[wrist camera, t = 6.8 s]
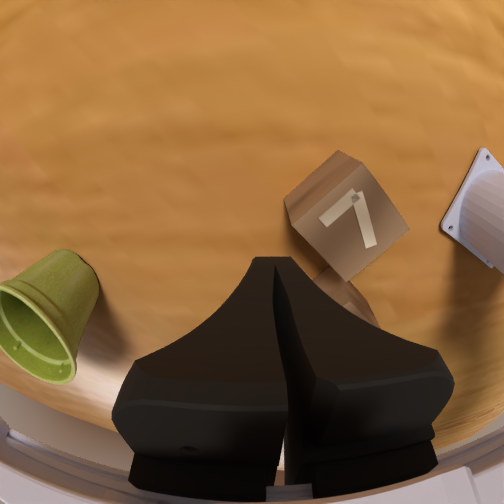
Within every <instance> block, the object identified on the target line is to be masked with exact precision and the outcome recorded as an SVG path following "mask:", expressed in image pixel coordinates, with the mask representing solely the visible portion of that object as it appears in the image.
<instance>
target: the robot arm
mask: <svg viewBox="0 0 504 504" xmlns="http://www.w3.org/2000/svg"><path fill="white" fill-rule="evenodd" d="M486 156H487V159H486ZM449 226H451V227H450V229H448V228H449ZM441 228H442V230H444V231H445V232H446V233H448V234H449V235H450V236H452V237H453V238H454V239H456V240H457V241H458V242H459V243H461V244H462V245H463V246H464V247H466V248H467V249H468V250H469V251H471V252H472V253H473V254H474V255H476V256H477V257H478V258H479V259H480V260H482V261H483V262H484V263H485V264H486V265H487V266H489V267H490V268H493V267H494V266H495V267H496V268H497V269H498V270H499V271H500V272H501V273H502V274H503V275H504V169H503V168H502V166H501V165H500V164H499V163H498V162H497V161H496V159H495V158H494V157H493V156H492V155H491V154H490V152H489V151H488V150H487V149H485V148H480V150H479V151H478V154H477V156H476V158H475V160H474V162H473V164H472V166H471V168H470V170H469V172H468V174H467V176H466V178H465V180H464V182H463V184H462V186H461V188H460V190H459V192H458V194H457V195H456V197H455V199H454V201H453V203H452V204H451V206H450V208H449V210H448V211H447V213H446V215H445V217H444V218H443V220H442V222H441ZM454 385H455V383H454V380H453V377H452V375H451V373H450V371H449V369H448V368H447V366H446V364H445V362H444V361H443V359H442V357H441V355H440V354H439V352H438V351H437V350H435V349H432V348H429V347H426V346H423V345H420V344H416V343H413V342H410V341H407V340H405V339H402V338H400V337H397V336H395V335H393V334H390V333H388V332H386V331H384V330H382V329H380V328H378V327H376V326H374V325H372V324H370V323H368V322H367V321H365V320H363V319H361V318H359V317H358V316H356V315H355V314H353V313H351V312H350V311H348V310H347V309H346V308H344V307H343V306H341V305H340V304H339V303H337V302H336V301H335V300H333V299H332V298H331V297H330V296H328V295H327V294H326V293H325V292H324V291H323V290H322V289H320V288H319V287H318V286H317V285H316V284H315V283H314V282H313V281H312V280H311V279H310V278H309V277H308V276H307V275H306V274H305V272H304V271H303V270H302V269H301V268H300V267H299V266H298V265H297V263H296V262H295V261H294V260H293V259H292V258H291V257H255V258H254V259H253V260H252V263H251V265H250V267H249V269H248V271H247V273H246V274H245V276H244V277H243V279H242V280H241V282H240V283H239V285H238V286H237V288H236V289H235V290H234V291H233V293H232V294H231V295H230V296H229V298H228V299H227V300H226V301H225V302H224V303H223V304H222V306H221V307H220V308H219V309H218V310H217V311H216V312H214V313H213V314H212V315H211V316H210V317H209V318H208V319H207V320H205V321H204V322H203V323H202V324H200V325H199V326H198V327H197V328H195V329H194V330H192V331H191V332H189V333H188V334H186V335H185V336H183V337H182V338H180V339H178V340H177V341H175V342H173V343H171V344H170V345H168V346H166V347H164V348H162V349H160V350H157V351H155V352H153V353H151V354H149V355H147V356H144V357H142V358H140V359H137V360H135V361H134V363H133V365H132V367H131V369H130V370H129V372H128V374H127V376H126V378H125V380H124V382H123V384H122V386H121V389H120V391H119V394H118V396H117V399H116V402H115V404H114V407H113V410H112V421H113V423H114V425H115V427H116V429H117V430H118V432H119V433H120V434H121V436H122V437H123V438H124V440H125V441H126V443H127V444H128V445H129V446H130V448H131V449H132V450H133V451H134V453H135V454H134V458H133V462H132V465H131V470H130V472H129V471H125V470H120V469H117V468H113V467H109V466H106V465H102V464H99V463H95V462H92V461H89V460H86V459H83V458H80V457H77V456H74V455H71V454H68V453H66V452H63V451H60V450H57V449H55V448H53V447H50V446H48V445H45V444H43V443H41V442H38V441H36V440H34V439H32V438H29V437H27V436H25V435H23V434H21V433H19V432H17V431H15V430H13V429H11V428H9V426H8V424H7V423H6V422H5V421H4V420H3V419H2V418H1V417H0V500H1V501H3V502H4V503H5V504H504V427H502V428H500V429H498V430H496V431H494V432H492V433H490V434H488V435H486V436H484V437H482V438H479V439H477V440H475V441H473V442H471V443H468V444H466V445H463V446H461V447H459V448H456V449H454V450H451V451H448V452H446V453H443V454H440V455H438V456H436V454H435V452H434V449H433V446H432V443H431V440H432V439H433V438H434V437H435V432H434V430H433V427H432V425H431V424H432V422H433V421H434V420H435V419H436V417H437V416H438V415H439V413H440V412H441V411H442V409H443V408H444V407H445V405H446V404H447V402H448V401H449V399H450V397H451V395H452V393H453V389H454ZM283 439H284V470H285V485H282V486H274V482H275V477H276V471H277V466H279V461H280V456H281V450H282V445H283Z"/></svg>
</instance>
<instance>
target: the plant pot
mask: <svg viewBox="0 0 504 504" xmlns="http://www.w3.org/2000/svg"><path fill="white" fill-rule="evenodd" d="M98 296H99V284H98V280H97V277H96V275H95V273H94V271H93V270H92V268H91V267H90V266H89V265H87V264H85V263H84V262H83V261H82V260H81V259H80V258H79V256H78V255H77V254H75V253H73V252H71V251H67V250H57V251H55V252H53V253H51V254H50V255H48V256H46V257H45V258H43V259H42V260H40V261H39V262H37V263H36V264H34V265H32V266H31V267H29V268H28V269H26V270H25V271H23V272H22V273H20V274H19V275H17V276H16V277H14V278H13V279H11V280H7V281H4V282H2V283H1V284H0V348H1V349H2V350H3V351H4V352H5V353H6V354H7V356H8V357H9V358H10V359H11V360H12V361H14V362H15V363H16V364H17V365H18V366H20V367H21V368H22V369H23V370H25V371H26V372H28V373H29V374H31V375H33V376H34V377H36V378H38V379H40V380H43V381H46V382H49V383H52V384H66V383H69V382H70V381H72V380H73V378H74V377H75V374H76V370H77V364H76V357H77V350H78V349H77V347H78V344H79V341H80V339H81V336H82V334H83V331H84V329H85V326H86V324H87V321H88V319H89V317H90V315H91V312H92V310H93V308H94V306H95V303H96V301H97V299H98Z"/></svg>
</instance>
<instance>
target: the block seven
mask: <svg viewBox="0 0 504 504" xmlns="http://www.w3.org/2000/svg"><path fill="white" fill-rule="evenodd" d="M284 202H285V205H286V208H287V212H288V215H289V218H290V221H291V225H292V226H293V227H294V228H295V229H296V230H297V231H298V232H299V233H300V234H301V235H302V236H303V237H304V238H305V239H306V241H307V242H308V243H309V244H310V245H311V246H312V247H313V248H314V249H315V250H316V251H317V252H318V253H319V254H320V255H321V256H322V257H323V258H324V259H325V260H326V261H327V262H328V263H329V264H330V265H331V267H332V268H333V269H334V270H335V271H336V272H337V273H338V274H339V275H340V276H341V277H342V278H343V279H344V280H345V281H346V282H347V281H349V280H350V279H351V278H352V277H354V276H355V275H356V274H357V273H359V272H360V271H361V270H362V269H364V268H365V267H366V266H367V265H368V264H370V263H371V262H372V261H373V260H374V259H376V258H377V257H378V256H379V255H380V254H382V253H383V252H384V251H385V250H386V249H388V248H389V247H390V246H391V245H392V244H393V243H395V242H396V241H397V240H398V239H399V238H400V237H401V236H403V235H404V234H405V233H406V232H407V231H408V230H409V229H410V228H409V227H408V225H407V224H406V222H405V221H404V219H403V218H402V216H401V215H400V213H399V212H398V210H397V209H396V207H395V206H394V204H393V203H392V202H391V200H390V199H389V197H388V196H387V194H386V193H385V192H384V190H383V189H382V188H381V186H380V185H379V183H378V182H377V181H376V179H375V178H374V177H373V175H372V174H371V173H370V171H369V170H368V169H367V168H366V166H365V165H364V164H363V163H362V162H360V161H358V160H356V159H354V158H353V157H351V156H349V155H347V154H345V153H343V152H341V151H339V150H338V151H336V152H335V153H334V154H333V155H332V156H331V157H330V158H329V159H327V160H326V161H325V162H324V163H323V164H322V165H321V166H320V167H318V168H317V169H316V170H315V171H314V172H313V173H312V174H311V175H309V176H308V177H307V178H306V179H305V180H304V181H303V182H302V183H300V184H299V185H298V186H297V187H296V188H295V189H294V190H293V191H292V192H290V193H289V194H288V195H287V196H286V197H285V198H284Z"/></svg>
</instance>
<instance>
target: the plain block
mask: <svg viewBox="0 0 504 504" xmlns="http://www.w3.org/2000/svg"><path fill="white" fill-rule="evenodd" d="M312 281H313V282H314V283H315V284H316V285H317V286H318V287H319V288H320V289H322V290H323V291H324V292H325V293H326V294H327V295H328V296H330V297H331V298H332V299H333V300H335V301H336V302H337V303H339V304H340V305H341V306H343V307H344V308H346V309H347V310H348V311H350V312H351V313H353V314H355V315H356V316H358V317H359V318H361V319H363V320H365V321H367V322H368V323H370V324H372V325H374V326H376V327H378V328H380V326H379V324H378V322H377V320H376V318H375V316H374V314H373V312H372V310H371V308H370V306H369V304H368V302H367V300H366V299H365V298H364V296H363V295H362V294H361V293H360V292H359V291H358V290H357V289H356V288H355V287H354V285H353V284H352V283H351V282H350V281H347V282H346V281H345V280H344V279H343V278H342V277H341V276H340V275H339V274H338V273H337V272H336V271H335V270H334V269H333V268H332V267H331V265H330V266H329V267H328V268H327V269H325V270H324V271H323V272H322V273H321V274H319V275H318V276H317V277H315V278H314V279H313V280H312ZM380 329H381V328H380Z"/></svg>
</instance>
